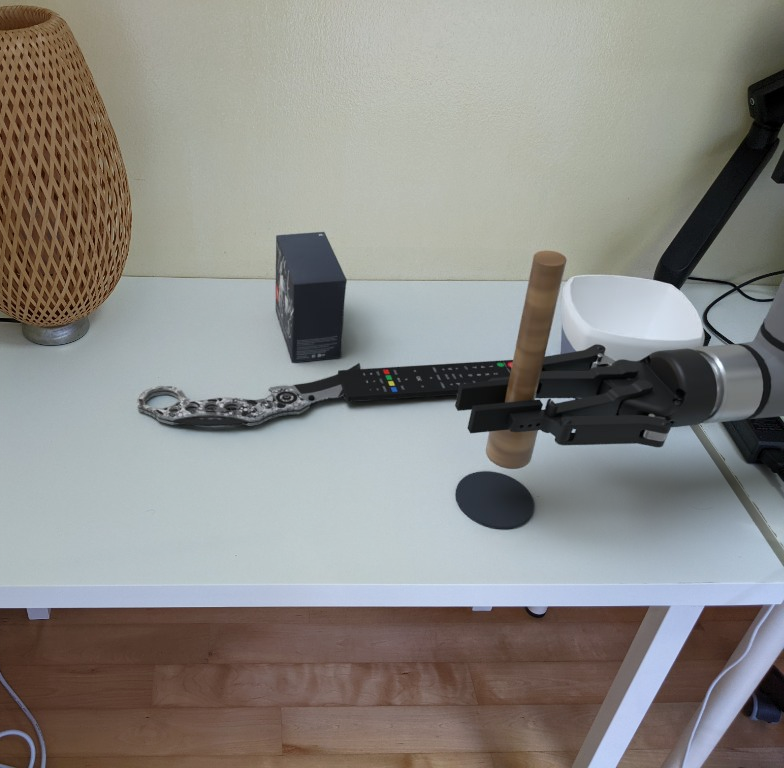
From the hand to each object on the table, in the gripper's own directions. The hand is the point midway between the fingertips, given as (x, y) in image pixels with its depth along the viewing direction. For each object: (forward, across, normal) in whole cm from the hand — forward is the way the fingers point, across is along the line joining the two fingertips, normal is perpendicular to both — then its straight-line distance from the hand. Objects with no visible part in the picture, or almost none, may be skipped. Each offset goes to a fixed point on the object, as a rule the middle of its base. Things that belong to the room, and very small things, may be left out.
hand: (465, 408), depth 72 cm
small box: (+8, +33, -13) cm, 37 cm away
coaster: (-5, 0, -13) cm, 14 cm away
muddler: (-6, 0, -7) cm, 9 cm away
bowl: (-28, +18, -13) cm, 35 cm away
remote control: (-6, +19, -13) cm, 24 cm away
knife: (+17, +20, -13) cm, 29 cm away
